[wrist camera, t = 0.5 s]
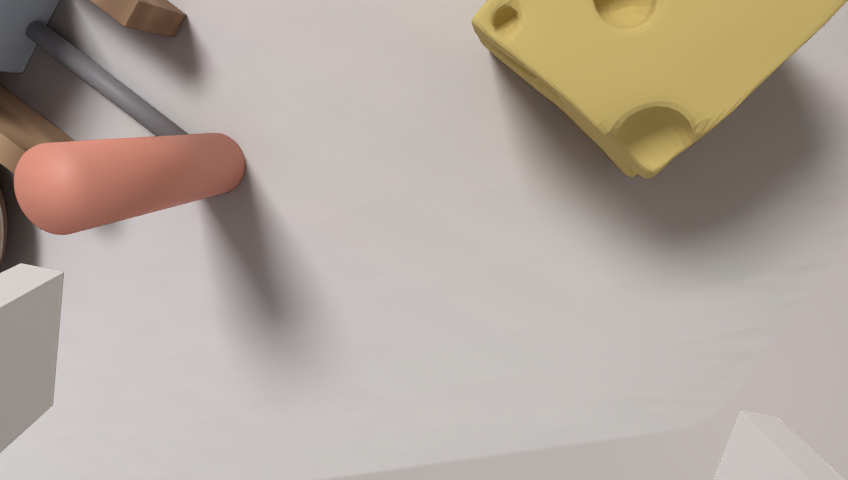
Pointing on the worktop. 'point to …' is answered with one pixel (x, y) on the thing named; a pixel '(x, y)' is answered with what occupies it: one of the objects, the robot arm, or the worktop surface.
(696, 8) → the cheese
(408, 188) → the worktop surface
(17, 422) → the robot arm
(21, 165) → the block
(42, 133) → the wooden u-shaped frame
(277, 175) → the worktop surface
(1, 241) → the saucer
